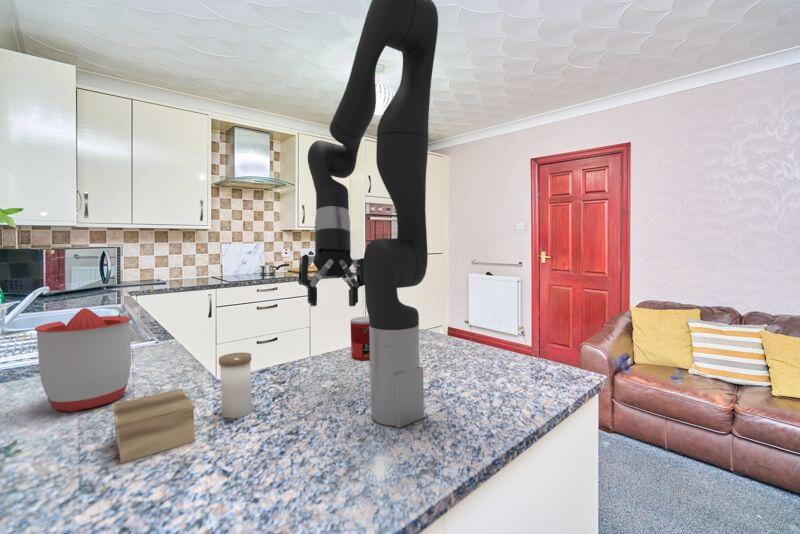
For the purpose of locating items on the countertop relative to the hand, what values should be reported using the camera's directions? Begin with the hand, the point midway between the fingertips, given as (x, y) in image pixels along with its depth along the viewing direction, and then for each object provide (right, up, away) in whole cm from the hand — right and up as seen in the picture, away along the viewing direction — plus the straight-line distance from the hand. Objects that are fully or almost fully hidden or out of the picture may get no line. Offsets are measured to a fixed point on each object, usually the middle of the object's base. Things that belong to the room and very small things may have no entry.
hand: (333, 306), depth 81 cm
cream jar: (-18, -20, -5) cm, 28 cm away
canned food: (+4, -18, +31) cm, 36 cm away
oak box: (-27, -21, -16) cm, 38 cm away
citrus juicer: (-53, -21, +2) cm, 57 cm away
